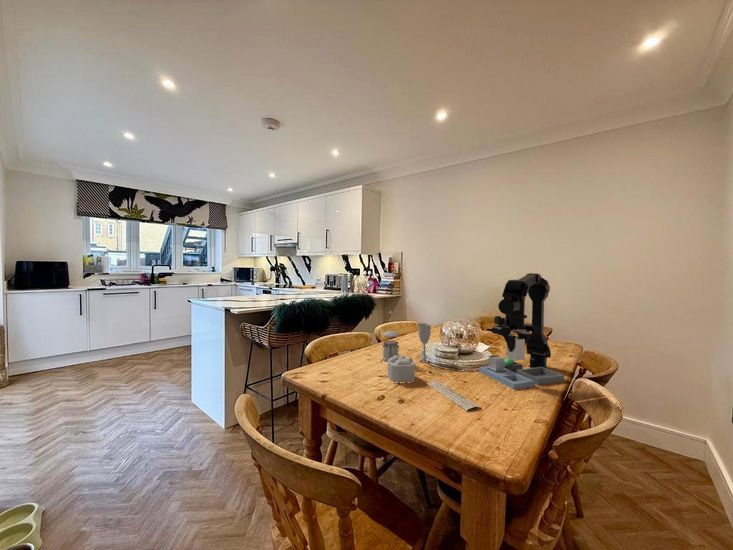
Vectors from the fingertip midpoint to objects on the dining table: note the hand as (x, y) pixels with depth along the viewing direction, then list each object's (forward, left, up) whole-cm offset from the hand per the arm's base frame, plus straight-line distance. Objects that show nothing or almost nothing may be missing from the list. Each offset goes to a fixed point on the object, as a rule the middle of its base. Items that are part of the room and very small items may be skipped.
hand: (515, 351), depth 120 cm
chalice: (+20, -37, -13) cm, 44 cm away
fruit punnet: (+41, -20, -14) cm, 47 cm away
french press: (+37, -39, -13) cm, 56 cm away
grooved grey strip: (+29, +2, -14) cm, 33 cm away
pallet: (0, -5, -13) cm, 14 cm away
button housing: (-11, -15, -13) cm, 23 cm away
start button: (-11, -15, -12) cm, 22 cm away
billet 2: (0, 0, -3) cm, 3 cm away
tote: (-14, -1, -13) cm, 19 cm away
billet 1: (0, -10, -13) cm, 17 cm away
